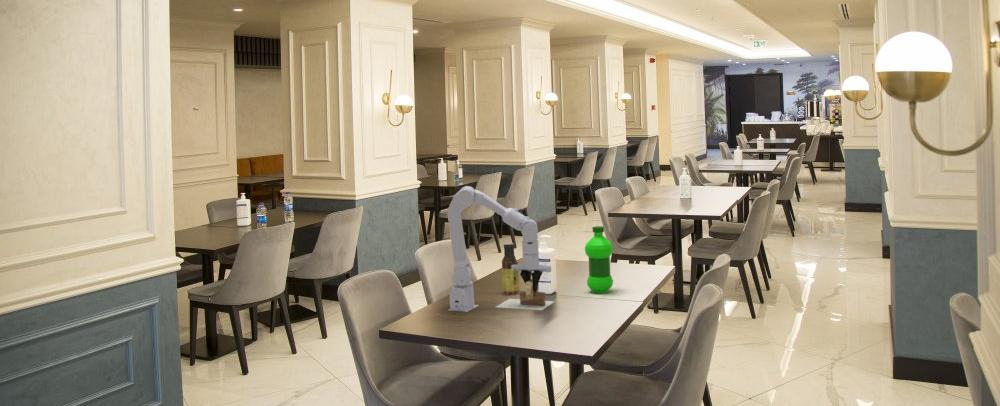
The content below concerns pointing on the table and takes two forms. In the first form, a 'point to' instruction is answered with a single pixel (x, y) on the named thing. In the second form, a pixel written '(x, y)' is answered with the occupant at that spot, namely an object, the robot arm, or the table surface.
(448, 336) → the table surface
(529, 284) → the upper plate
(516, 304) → the base board
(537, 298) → the brown rectangular block
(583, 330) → the table surface
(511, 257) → the sauce bottle
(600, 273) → the plastic bottle
